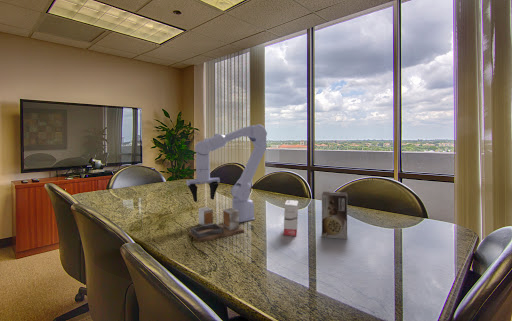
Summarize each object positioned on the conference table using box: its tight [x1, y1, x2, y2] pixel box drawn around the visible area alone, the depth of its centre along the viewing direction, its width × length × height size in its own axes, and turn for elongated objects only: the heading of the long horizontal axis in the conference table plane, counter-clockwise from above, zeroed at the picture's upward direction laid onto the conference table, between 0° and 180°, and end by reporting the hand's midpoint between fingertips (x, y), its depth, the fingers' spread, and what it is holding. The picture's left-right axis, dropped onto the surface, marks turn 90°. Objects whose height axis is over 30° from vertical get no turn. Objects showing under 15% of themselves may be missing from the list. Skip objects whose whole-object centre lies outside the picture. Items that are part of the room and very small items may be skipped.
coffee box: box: [321, 191, 348, 240], centre depth 101 cm, size 9×6×16 cm
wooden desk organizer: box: [188, 207, 245, 243], centre depth 105 cm, size 19×11×8 cm, turn 123°
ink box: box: [283, 199, 299, 237], centre depth 105 cm, size 9×5×12 cm, turn 168°
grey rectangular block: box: [198, 206, 214, 226], centre depth 116 cm, size 4×6×7 cm, turn 33°
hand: (203, 200), depth 117 cm, fingers open, 7 cm apart
